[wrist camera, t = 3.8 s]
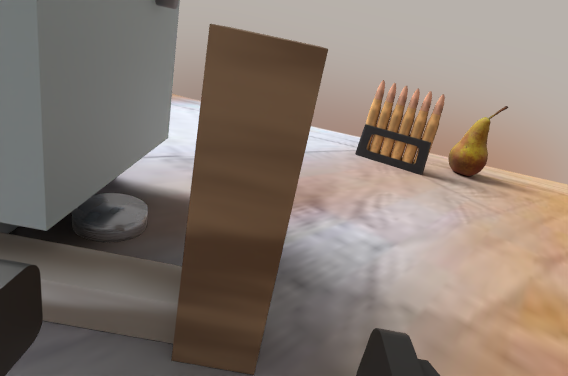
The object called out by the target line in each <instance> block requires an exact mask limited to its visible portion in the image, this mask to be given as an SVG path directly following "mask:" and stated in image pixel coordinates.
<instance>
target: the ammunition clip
mask: <svg viewBox="0 0 568 376" xmlns="http://www.w3.org/2000/svg"><path fill="white" fill-rule="evenodd" d="M384 88H385V82H384V80H383V81H382V82H381V84H380V85H379V87H378V89H377V92H376V95H375V98H374V100H373V103H372V106H371V108H370V111H369V114H368V118H367V121H366V124H365V127H364V130H363V133H362V136H361V138H360V141H359V144H358V147H357V150H356V153H355V154H356V155H359V156H362V157H365V158H368V159H371V160H375V161H378V162H381V163H384V164H388V165H391V166H394V167H397V168H400V169H404V170H407V171H410V172H413V173H416V174H420V175H422V174H423V171H424V168H425V164H426V161H427V158H428V155H429V152H430V149H431V146H432V143H433V140H434V137H435V135H436V132H437V129H438V125H439V120H440V116H441V113H442V110H443V106H444V94H443V95H442V96H441V97H440V98H439V100H438V101H437V103H436V105H435V107H434V110H433V113H432V115H431V117H430V119H429V121H428V123H427V126H426V128H425V125H426V121H427V116H428V111H429V108H430V105H431V99H432V92H429V93H428V94H427V96H426V97H425V99H424V101H423V103H422V106H421V109H420V111H419V114H418V116H417V118H416V119H415V122H414V118H415V112H416V108H417V105H418V100H419V89H417V90H416V91H415V92H414V94H413V96H412V98H411V100H410V103H409V106H408V108H407V111H406V113H405V115H404V117H403V111H404V107H405V102H406V99H407V92H408V89H407V86H405V87H404V89H403V90H402V92H401V94H400V96H399V98H398V101H397V104H396V107H395V109H394V111H393V113H392V116H391V112H392V106H393V102H394V98H395V93H396V84H395V83H394V84H393V85H392V87H391V89H390V90H389V93H388V95H387V98H386V101H385V103H384V106H383V108H382V110H381V113H380V109H381V103H382V98H383V94H384ZM379 114H380V116H379ZM378 117H379V120H378ZM390 117H391V119H390ZM402 117H403V120H402ZM389 120H390V122H389ZM401 120H402V123H401ZM377 121H378V123H377ZM413 122H414V125H413ZM388 123H389V125H388ZM376 124H377V125H376ZM400 124H401V126H400ZM412 125H413V129H412V131H411V128H412ZM387 127H388V128H387ZM399 127H400V129H399ZM424 128H425V131H424ZM398 130H399V131H398ZM410 131H411V134H410ZM423 131H424V134H423ZM409 134H410V135H409ZM422 134H423V137H422ZM373 135H374V136H373ZM384 137H385V138H384ZM421 137H422V138H421ZM372 138H373V139H372ZM383 140H384V141H383ZM395 140H396V141H395ZM371 141H372V143H371ZM382 143H383V145H382ZM394 143H395V144H394ZM406 143H407V146H406ZM370 145H371V146H370ZM393 146H394V147H393ZM405 146H406V149H405ZM381 147H382V148H381ZM392 149H393V150H392ZM404 149H405V152H404ZM417 149H418V151H417ZM380 150H381V151H380ZM391 152H392V154H391ZM416 152H417V154H416ZM403 153H404V155H403ZM415 155H416V157H415ZM402 156H403V158H402ZM414 158H415V160H414ZM413 160H414V162H413Z"/></svg>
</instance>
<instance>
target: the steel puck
mask: <svg viewBox="0 0 568 376" xmlns="http://www.w3.org/2000/svg"><path fill="white" fill-rule="evenodd" d="M147 216H148V206H147V204H146V203H145V202H144V201H142V200H141V199H139V198H136V197H134V196H130V195H126V194H119V193H101V194H94V195H93V196H91V197H90V198H89V199H87V200H86V201H85V202H84V203H82V204H81V205H80V206H78V207H77V208H76V209H74V210H73V211H72V228H73V230H74V232H75V233H76V234H77V235H79V236H81V237H83V238H85V239H88V240H92V241H98V242H118V241H124V240H128V239H131V238H134V237H136V236H138V235H140V234H141V233H143V232H144V231H145V229H146V227H147Z"/></svg>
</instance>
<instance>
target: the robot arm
mask: <svg viewBox="0 0 568 376" xmlns="http://www.w3.org/2000/svg"><path fill="white" fill-rule="evenodd" d="M42 320H43V311H42V294H41V277H40V270H39V268H38V267H37V266H36V265H33V264H27V263H22V262H16V261H11V260H5V259H0V376H5V375H6V374H7V372H8V371H9V370H10V369H11V368H12V367H13V366H14V364H15V363H16V362H17V361H18V360H19V359H20V357H21V356H22V355H23V354H24V353H25V352H26V351H27V349H28V348H29V347H30V346H31V345H32V343H33V342H34V340H35V339H36V337H37V335H38V333H39V331H40V328H41V325H42ZM356 376H440V375H439V374H438V373H437V371H436V370H435V369H434V368H433V366H432V365H431V364H430V363H429V362H428V361H427V360H421V359H418V358H417V355H416V353H415V350H414V347H413V345H412V342H411V339H410V337H409V336H408V335H407V334H406V333H401V332H395V331H390V330H384V329H379V328H375V329H374V330H373V331H372V333H371V336H370V338H369V341H368V344H367V346H366V349H365V352H364V355H363V357H362V360H361V363H360V366H359V368H358V371H357V374H356Z"/></svg>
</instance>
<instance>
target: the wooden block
mask: <svg viewBox="0 0 568 376" xmlns="http://www.w3.org/2000/svg"><path fill="white" fill-rule="evenodd" d="M327 52H328V49H326V48H323V47H320V46H315V45H311V44H306V43H301V42H297V41H292V40H287V39H283V38H278V37H273V36H269V35H264V34H259V33H254V32H250V31H245V30H240V29H235V28H231V27H225V26H219V25H214V24H210V27H209V36H208V45H207V54H206V63H205V71H204V80H203V89H202V97H201V106H200V115H199V124H198V132H197V141H196V150H195V159H194V167H193V176H192V185H191V194H190V202H189V211H188V220H187V228H186V237H185V246H184V255H183V263H182V266H178V265H173V264H168V263H162V262H157V261H152V260H146V259H141V258H135V257H130V256H125V255H119V254H114V253H109V252H103V251H98V250H93V249H87V248H82V247H76V246H71V245H66V244H60V243H55V242H50V241H44V240H39V239H33V238H28V237H23V236H17V235H12V234H7V233H1V232H0V259H5V260H11V261H16V262H22V263H27V264H33V265H36V266H37V267H38V268H39V270H40V277H41V294H42V311H43V320H42V321H48V322H53V323H59V324H65V325H70V326H76V327H82V328H87V329H93V330H98V331H104V332H110V333H115V334H121V335H127V336H132V337H138V338H144V339H149V340H155V341H161V342H166V343H172V344H173V351H172V361H178V362H183V363H189V364H195V365H201V366H206V367H212V368H218V369H223V370H229V371H235V372H240V373H246V374H252V375H254V372H255V368H256V364H257V359H258V355H259V350H260V346H261V342H262V337H263V333H264V328H265V324H266V320H267V315H268V311H269V307H270V302H271V298H272V293H273V289H274V285H275V280H276V276H277V271H278V267H279V263H280V258H281V254H282V250H283V245H284V241H285V236H286V232H287V228H288V223H289V219H290V214H291V210H292V206H293V201H294V197H295V192H296V188H297V184H298V179H299V175H300V171H301V166H302V162H303V157H304V153H305V149H306V144H307V140H308V135H309V131H310V127H311V122H312V118H313V114H314V109H315V105H316V100H317V96H318V91H319V87H320V83H321V78H322V74H323V69H324V65H325V61H326V56H327Z"/></svg>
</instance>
